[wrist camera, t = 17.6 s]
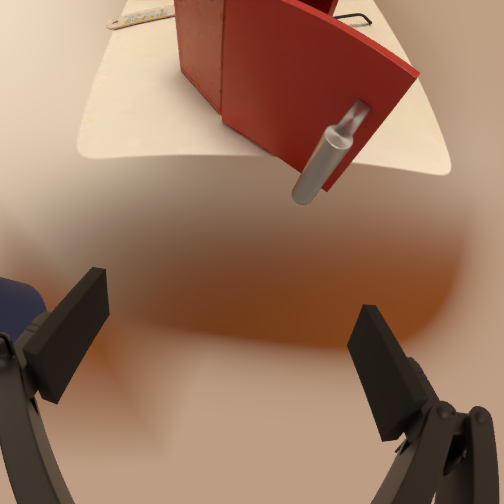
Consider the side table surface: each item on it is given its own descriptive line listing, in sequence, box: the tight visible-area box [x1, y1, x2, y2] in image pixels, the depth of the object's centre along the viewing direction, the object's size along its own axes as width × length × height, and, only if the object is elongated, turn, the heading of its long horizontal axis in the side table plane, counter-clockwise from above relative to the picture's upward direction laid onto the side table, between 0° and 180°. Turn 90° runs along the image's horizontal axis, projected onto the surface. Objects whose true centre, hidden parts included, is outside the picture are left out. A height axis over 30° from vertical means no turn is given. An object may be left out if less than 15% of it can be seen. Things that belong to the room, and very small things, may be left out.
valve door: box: [222, 0, 420, 205], centre depth 19 cm, size 5×12×15 cm, turn 54°
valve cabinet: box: [174, 0, 338, 115], centre depth 22 cm, size 8×12×16 cm, turn 126°
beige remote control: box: [106, 5, 175, 30], centre depth 30 cm, size 10×1×3 cm
